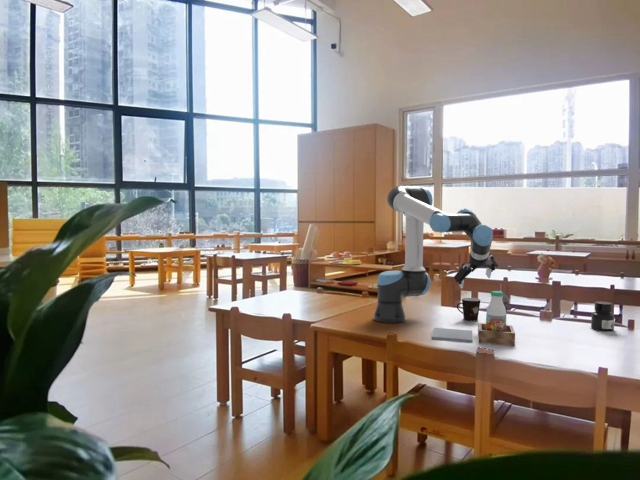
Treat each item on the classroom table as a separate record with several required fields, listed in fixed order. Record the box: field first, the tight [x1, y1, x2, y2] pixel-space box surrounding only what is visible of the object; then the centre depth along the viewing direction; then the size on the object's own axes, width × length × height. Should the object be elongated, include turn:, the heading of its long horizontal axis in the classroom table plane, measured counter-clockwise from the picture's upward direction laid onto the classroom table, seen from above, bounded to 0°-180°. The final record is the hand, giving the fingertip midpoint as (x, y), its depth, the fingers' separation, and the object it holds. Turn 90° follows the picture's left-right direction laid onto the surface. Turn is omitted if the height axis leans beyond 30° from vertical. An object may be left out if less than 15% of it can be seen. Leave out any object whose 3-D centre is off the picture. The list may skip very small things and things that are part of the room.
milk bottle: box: [485, 290, 507, 332], centre depth 192 cm, size 8×8×20 cm
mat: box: [431, 327, 474, 343], centre depth 198 cm, size 16×16×1 cm
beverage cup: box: [499, 283, 509, 315], centre depth 214 cm, size 7×7×20 cm
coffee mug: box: [456, 297, 481, 322], centre depth 228 cm, size 12×9×10 cm
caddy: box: [477, 322, 516, 347], centre depth 192 cm, size 13×13×5 cm
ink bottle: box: [590, 301, 615, 332], centre depth 211 cm, size 10×9×12 cm
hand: (474, 281), depth 214 cm, fingers open, 13 cm apart
